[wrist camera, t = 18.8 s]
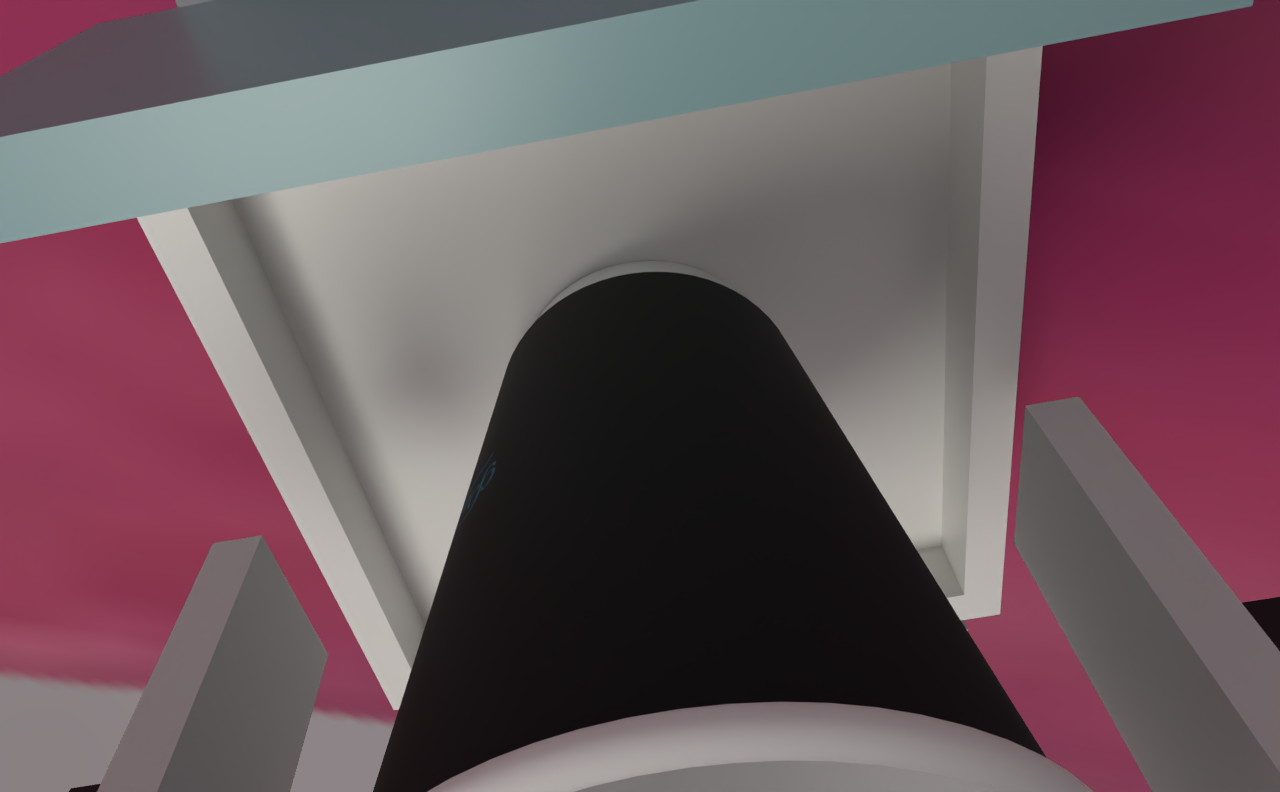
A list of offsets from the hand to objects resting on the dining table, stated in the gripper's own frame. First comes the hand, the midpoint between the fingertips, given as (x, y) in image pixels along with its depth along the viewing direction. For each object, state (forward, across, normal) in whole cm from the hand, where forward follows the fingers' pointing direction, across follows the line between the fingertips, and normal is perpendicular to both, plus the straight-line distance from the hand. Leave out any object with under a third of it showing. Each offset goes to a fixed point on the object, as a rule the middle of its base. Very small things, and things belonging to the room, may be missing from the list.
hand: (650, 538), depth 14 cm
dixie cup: (+5, 0, 0) cm, 5 cm away
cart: (+8, 0, 0) cm, 8 cm away
